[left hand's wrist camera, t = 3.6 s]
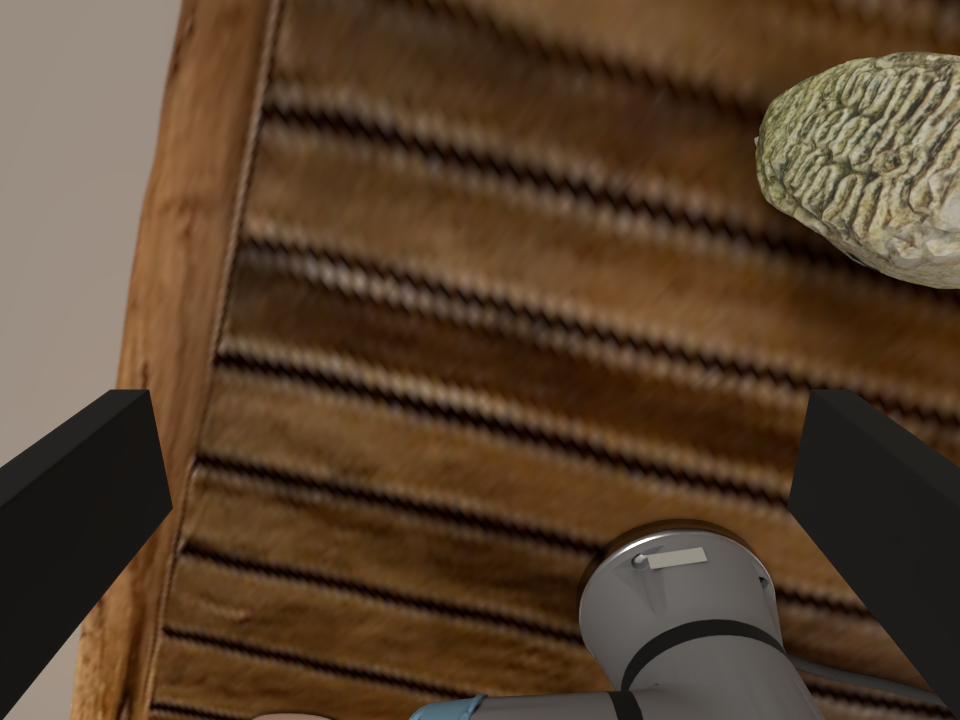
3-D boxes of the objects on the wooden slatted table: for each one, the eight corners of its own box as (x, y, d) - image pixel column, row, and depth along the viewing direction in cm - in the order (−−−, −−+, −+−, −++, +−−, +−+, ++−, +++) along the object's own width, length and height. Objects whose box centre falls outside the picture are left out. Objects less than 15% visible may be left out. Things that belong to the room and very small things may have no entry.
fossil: (766, 49, 37) (945, 1, 22) (1022, 174, 39) (1327, 201, 25) (692, 194, 39) (809, 231, 25) (934, 302, 42) (1164, 390, 28)
